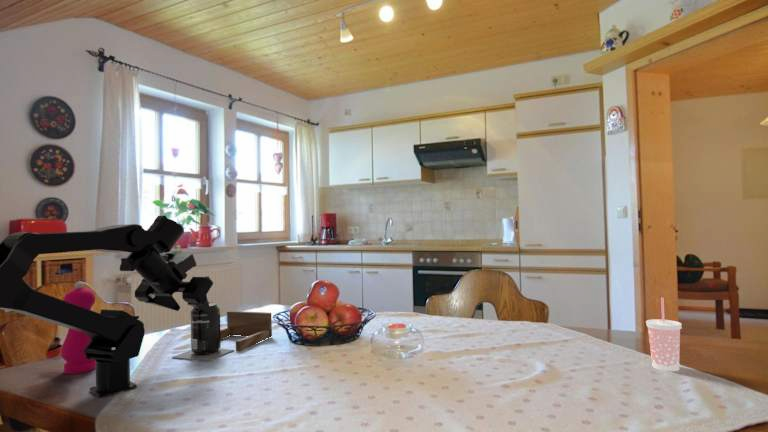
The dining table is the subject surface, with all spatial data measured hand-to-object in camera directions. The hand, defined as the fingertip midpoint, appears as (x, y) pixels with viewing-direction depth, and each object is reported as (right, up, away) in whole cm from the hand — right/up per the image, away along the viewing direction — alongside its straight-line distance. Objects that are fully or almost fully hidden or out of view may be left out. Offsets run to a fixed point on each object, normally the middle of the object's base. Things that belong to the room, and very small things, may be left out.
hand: (193, 309), depth 106 cm
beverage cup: (+103, -8, -18) cm, 105 cm away
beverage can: (+2, -11, +3) cm, 12 cm away
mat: (+1, -12, +3) cm, 12 cm away
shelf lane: (+5, -12, +13) cm, 18 cm away
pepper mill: (-23, -12, -6) cm, 27 cm away
